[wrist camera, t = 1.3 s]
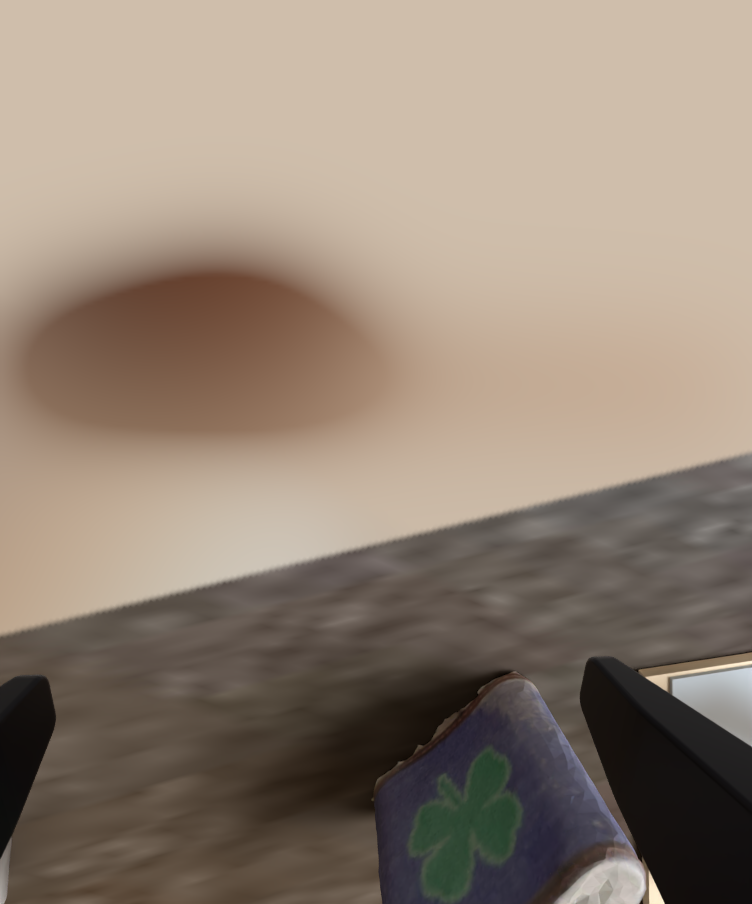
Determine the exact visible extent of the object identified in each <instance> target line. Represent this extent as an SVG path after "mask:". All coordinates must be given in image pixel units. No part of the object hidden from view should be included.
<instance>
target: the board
mask: <svg viewBox="0 0 752 904" xmlns="http://www.w3.org/2000/svg"><path fill="white" fill-rule="evenodd" d="M638 673H639V674H641V675H642V676H644V677H645V678H647V679H648V680H650V681H651V682H653V683H654V684H656V685H658V686H659V687H661V688H662V689H664V690H665V691H667V692H668V693H670V694H671V695H673V696H675V697H676V698H678V699H679V700H681V701H682V702H684V703H685V704H687V705H688V706H690V707H691V708H693V709H695V710H696V711H698V712H699V713H701V714H702V715H704V716H705V717H707V718H708V719H710V720H711V721H713V722H715V723H716V724H718V725H719V726H721V727H722V728H724V729H725V730H727V731H728V732H730V733H731V734H733V735H735V736H736V737H738V738H739V739H741V740H742V741H744V742H745V743H747V744H748V745H750V746H752V652H751V653H745V654H738V655H732V656H725V657H719V658H712V659H706V660H699V661H692V662H686V663H679V664H673V665H666V666H660V667H653V668H646V669H640V670H638ZM642 864H643V867H644V870H645V872H646V891H645V894H644V896H643V904H665V903H664V901H663V899H662V897H661V895H660V893H659V891H658V888H657V886H656V884H655V882H654V880H653V878H652V876H651V874H650V872H649V870H648V868H647V865H646V863H645V861H644V859H643V857H642Z"/></svg>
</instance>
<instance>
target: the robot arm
mask: <svg viewBox="0 0 752 904" xmlns="http://www.w3.org/2000/svg"><path fill="white" fill-rule="evenodd" d="M580 704H581V708H582V711H583V714H584V716H585V719H586V722H587V725H588V727H589V730H590V733H591V735H592V738H593V741H594V744H595V746H596V749H597V752H598V755H599V757H600V760H601V763H602V765H603V768H604V771H605V774H606V776H607V779H608V782H609V785H610V787H611V790H612V792H613V795H614V797H615V800H616V802H617V804H618V806H619V808H620V811H621V813H622V815H623V817H624V819H625V821H626V823H627V826H628V828H629V830H630V832H631V834H632V836H633V838H634V840H635V842H636V844H637V847H638V849H639V851H640V853H641V855H642V857H643V859H644V861H645V863H646V865H647V868H648V870H649V872H650V874H651V876H652V878H653V880H654V882H655V884H656V886H657V888H658V891H659V893H660V895H661V897H662V899H663V901H664V903H665V904H752V746H750V745H748V744H747V743H745V742H744V741H742V740H741V739H739V738H738V737H736V736H735V735H733V734H731V733H730V732H728V731H727V730H725V729H724V728H722V727H721V726H719V725H718V724H716V723H715V722H713V721H711V720H710V719H708V718H707V717H705V716H704V715H702V714H701V713H699V712H698V711H696V710H695V709H693V708H691V707H690V706H688V705H687V704H685V703H684V702H682V701H681V700H679V699H678V698H676V697H675V696H673V695H671V694H670V693H668V692H667V691H665V690H664V689H662V688H661V687H659V686H658V685H656V684H654V683H653V682H651V681H650V680H648V679H647V678H645V677H644V676H642V675H641V674H639V673H638V672H636V671H634V670H633V669H631V668H630V667H628V666H627V665H625V664H624V663H622V662H621V661H619V660H618V659H616V658H614V657H610V656H602V657H591V658H589V659H588V660H587V662H586V666H585V671H584V676H583V681H582V686H581V691H580ZM55 722H56V713H55V708H54V704H53V699H52V694H51V690H50V685H49V681H48V679H47V678H46V677H45V676H43V675H21V676H17V677H14V678H13V679H11V680H9V681H8V682H6V683H5V684H3V685H2V686H0V859H1V857H2V855H3V853H4V851H5V849H6V847H7V845H8V843H9V841H10V838H11V836H12V834H13V832H14V829H15V827H16V825H17V822H18V820H19V818H20V815H21V813H22V810H23V807H24V805H25V802H26V800H27V797H28V795H29V792H30V790H31V787H32V784H33V782H34V779H35V777H36V774H37V772H38V769H39V767H40V764H41V761H42V759H43V756H44V754H45V751H46V749H47V746H48V744H49V741H50V738H51V736H52V733H53V731H54V727H55Z"/></svg>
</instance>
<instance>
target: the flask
mask: <svg viewBox="0 0 752 904" xmlns="http://www.w3.org/2000/svg"><path fill="white" fill-rule="evenodd" d="M477 693H478V694H479V695H478V697H476V698H475V699H474V700H473V701H471V702H470V703H469V704H468V705H466V707H465V708H462V709H461V710H460V711H459V712H455V713H454V714H452V715H451V717H449V718H447V719H444V722H443V723H442V724H441V725H439V726H438V727H437V730H435V732H436V733H435V734H434V735H433V738H432V739H431V740H432V741H430V742H429V743H428V744H426V745H424V746H423V745H418V747H417V748H416V750H415V752H414V754H413V755H412V756H411V757H410V758H409V759H407V760H404V761H401V762H400V761H398V764H397V765H396V766H395V767H394V768H393V769H392V770H390V771H388V772H387V773H386V774H385V775H383V776H381V777H379V778H378V779H377V781H376V784H375V788H374V796H373V798H372V800H371V801H374V806H375V820H376V830H377V841H378V854H379V878H380V889H381V895H382V904H639V903H640V901H641V900H642V898H643V896H644V894H645V891H646V872H645V870H644V867H643V864H642V863H641V862H640V861H639V859H638V857H637V855H636V853H635V851H634V849H633V847H632V845H631V844H630V842H629V841H628V839H627V838H626V836H625V834H624V833H623V831H622V830H621V828H620V827H619V825H618V824H617V822H616V821H615V819H614V818H613V816H612V814H611V813H610V811H609V810H608V808H607V806H606V804H605V802H604V800H603V799H602V797H601V796H600V794H599V792H598V791H597V789H596V787H595V785H594V784H593V782H592V781H591V779H590V777H589V776H588V774H587V773H586V771H585V769H584V768H583V766H582V764H581V762H580V761H579V759H578V758H577V756H576V755H575V753H574V751H573V750H572V748H571V746H570V744H569V743H568V741H567V739H566V738H565V736H564V734H563V733H562V731H561V729H560V728H559V726H558V724H557V723H556V721H555V719H554V718H553V716H552V714H551V713H550V711H549V709H548V708H547V706H546V703H545V702H544V701H543V699H542V698H541V696H540V693H539V691H538V690H537V688H536V687H535V685H534V684H533V683H532V682H531V681H530V680H529V679H527V678H526V677H524V676H522V675H520V674H519V673H516V671H515V672H511V673H510V674H507V675H504V676H502V677H499V678H496V679H494V680H492V681H491V682H490V683H488V684H486V685H485V686H482V687H481V689H479V690H478V691H477Z"/></svg>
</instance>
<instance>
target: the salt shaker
mask: <svg viewBox="0 0 752 904" xmlns="http://www.w3.org/2000/svg"><path fill="white" fill-rule="evenodd" d="M11 844H12V837H11V838H10V841H9V843H8V845H7V847H6V849H5V851H4V853H3V855H2V857H1V859H0V904H4V902H5V900H6V897H7V887H8V876H9V864H10V853H11Z"/></svg>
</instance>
